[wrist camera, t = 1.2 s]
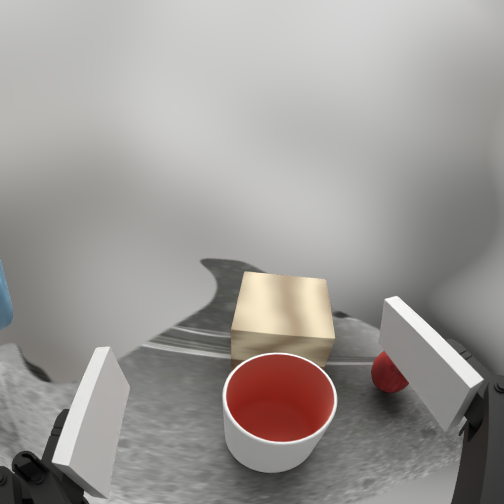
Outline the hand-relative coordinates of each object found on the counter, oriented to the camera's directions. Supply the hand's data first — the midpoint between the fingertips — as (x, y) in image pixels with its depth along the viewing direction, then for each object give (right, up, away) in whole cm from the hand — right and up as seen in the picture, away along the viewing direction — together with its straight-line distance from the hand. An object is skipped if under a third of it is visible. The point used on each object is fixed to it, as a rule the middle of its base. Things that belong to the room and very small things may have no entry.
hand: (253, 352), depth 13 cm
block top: (+4, -6, +24) cm, 25 cm away
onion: (+18, -14, +21) cm, 31 cm away
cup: (+2, -17, +15) cm, 22 cm away
